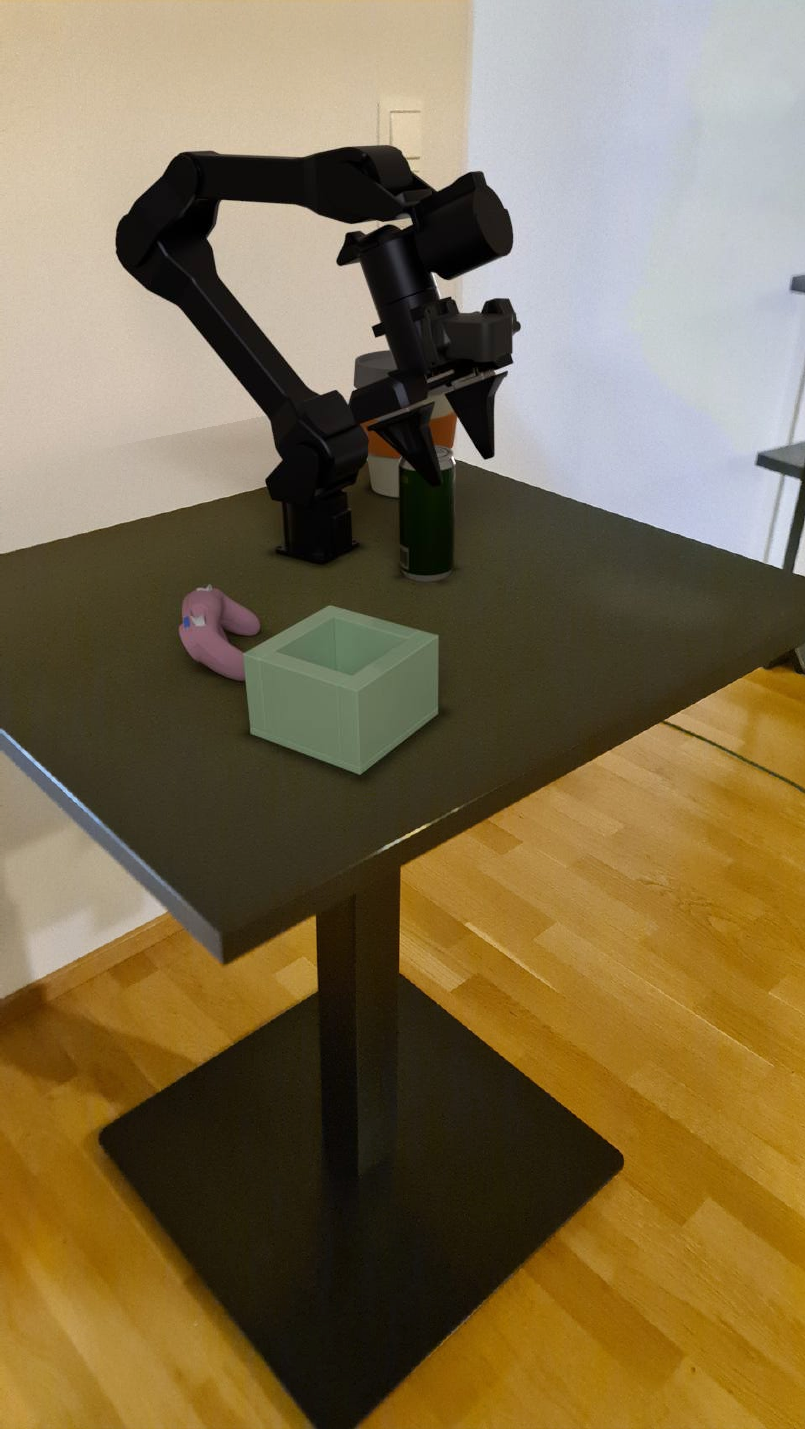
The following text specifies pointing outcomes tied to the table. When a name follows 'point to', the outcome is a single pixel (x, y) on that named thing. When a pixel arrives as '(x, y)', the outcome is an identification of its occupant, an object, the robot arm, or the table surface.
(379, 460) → the reusable coffee cup
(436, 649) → the holder
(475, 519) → the table surface
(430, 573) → the beer can
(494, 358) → the robot arm
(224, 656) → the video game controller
